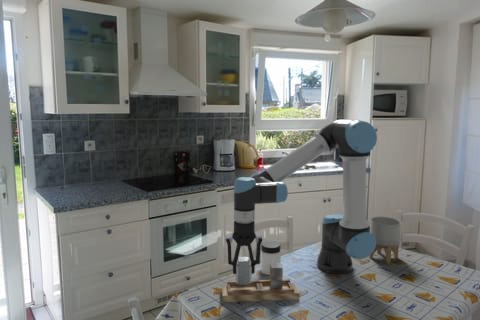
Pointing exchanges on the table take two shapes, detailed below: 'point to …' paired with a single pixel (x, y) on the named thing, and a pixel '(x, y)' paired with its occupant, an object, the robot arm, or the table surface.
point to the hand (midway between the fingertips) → (243, 281)
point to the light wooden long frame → (262, 288)
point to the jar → (269, 255)
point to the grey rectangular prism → (243, 270)
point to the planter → (386, 236)
